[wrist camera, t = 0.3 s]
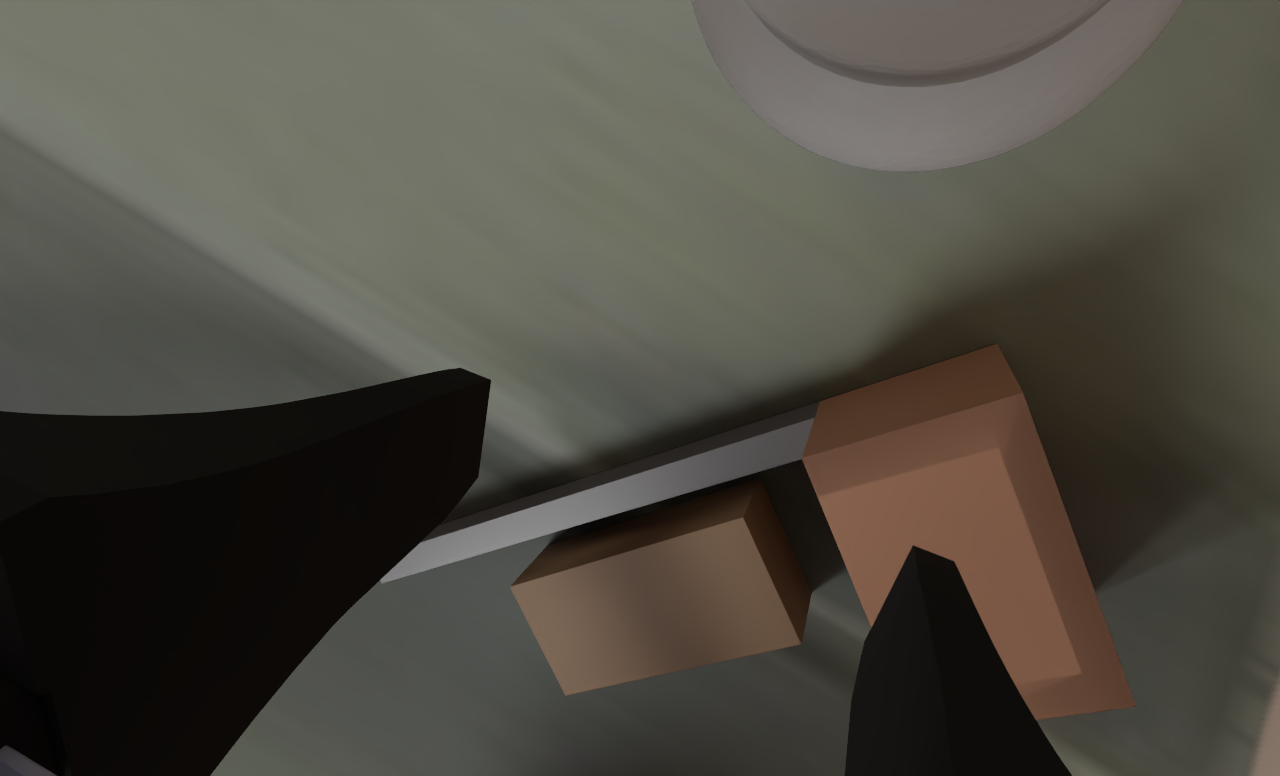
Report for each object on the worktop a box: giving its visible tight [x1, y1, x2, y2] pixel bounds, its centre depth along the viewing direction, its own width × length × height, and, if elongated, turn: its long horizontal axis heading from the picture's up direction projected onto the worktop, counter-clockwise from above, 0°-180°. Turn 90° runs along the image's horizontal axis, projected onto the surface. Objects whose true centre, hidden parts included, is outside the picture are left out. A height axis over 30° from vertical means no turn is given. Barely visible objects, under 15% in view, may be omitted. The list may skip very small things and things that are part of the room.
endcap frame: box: [380, 344, 1136, 720], centre depth 22 cm, size 21×8×4 cm, turn 115°
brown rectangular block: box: [510, 478, 812, 695], centre depth 23 cm, size 8×4×3 cm, turn 116°
